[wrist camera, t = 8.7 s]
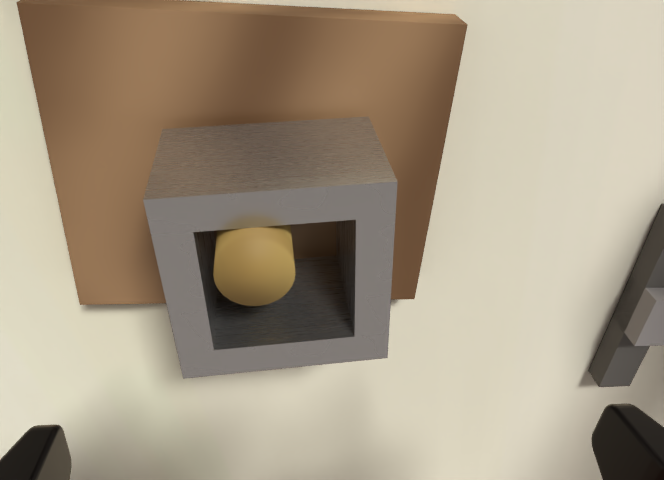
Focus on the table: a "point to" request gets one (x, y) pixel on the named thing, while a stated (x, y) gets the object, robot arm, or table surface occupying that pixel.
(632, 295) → the grey long bar
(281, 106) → the wooden peg board
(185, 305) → the end link
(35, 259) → the table surface
